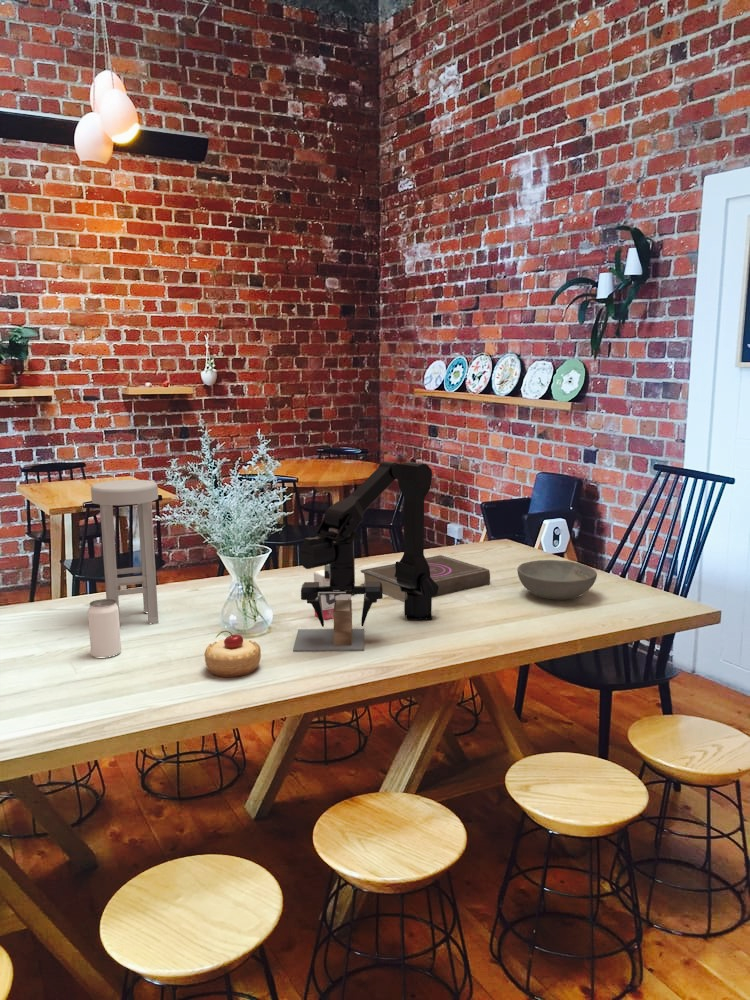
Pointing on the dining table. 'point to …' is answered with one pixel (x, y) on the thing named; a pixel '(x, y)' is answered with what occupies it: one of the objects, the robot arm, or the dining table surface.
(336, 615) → the slab
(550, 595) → the bowl
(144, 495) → the stool
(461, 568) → the book
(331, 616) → the ink box
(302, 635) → the mat
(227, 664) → the pastry
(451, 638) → the dining table surface
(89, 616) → the can
